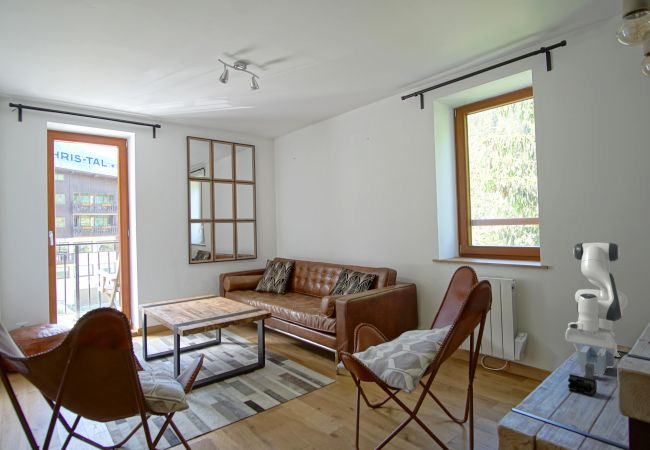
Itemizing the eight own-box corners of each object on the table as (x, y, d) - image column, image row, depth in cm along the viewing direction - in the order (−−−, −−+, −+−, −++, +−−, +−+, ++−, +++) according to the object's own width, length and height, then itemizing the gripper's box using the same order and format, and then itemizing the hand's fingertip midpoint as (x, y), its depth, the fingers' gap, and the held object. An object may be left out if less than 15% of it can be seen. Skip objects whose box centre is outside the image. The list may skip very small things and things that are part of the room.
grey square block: (578, 361, 207) (578, 337, 207) (614, 368, 196) (613, 342, 196) (573, 369, 195) (573, 342, 195) (611, 376, 184) (610, 349, 184)
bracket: (587, 374, 187) (586, 363, 187) (594, 376, 185) (594, 364, 185) (585, 378, 182) (585, 365, 183) (592, 379, 180) (592, 367, 181)
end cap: (597, 393, 164) (596, 378, 164) (593, 398, 159) (593, 382, 159) (571, 386, 171) (570, 372, 172) (567, 391, 166) (566, 376, 167)
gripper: (615, 328, 180) (616, 357, 179) (566, 322, 194) (566, 348, 193) (614, 330, 175) (614, 359, 174) (564, 323, 189) (564, 350, 188)
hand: (589, 353), depth 184 cm, fingers open, 8 cm apart
